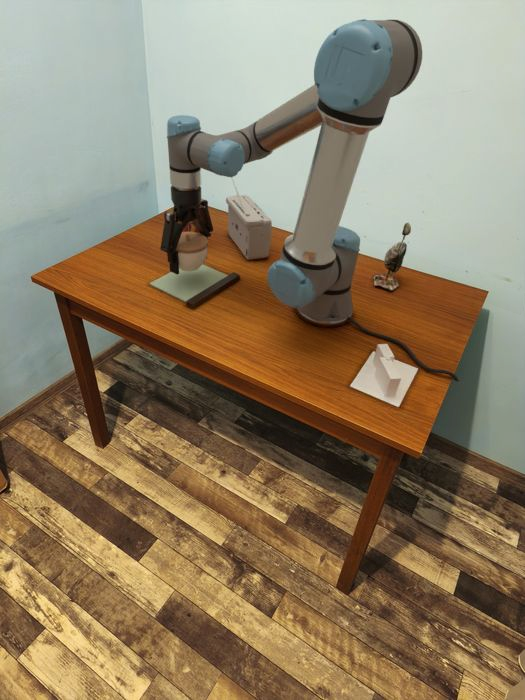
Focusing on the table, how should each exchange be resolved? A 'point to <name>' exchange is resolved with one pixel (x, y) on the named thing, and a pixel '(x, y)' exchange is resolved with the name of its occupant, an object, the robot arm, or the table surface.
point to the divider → (212, 290)
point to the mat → (188, 282)
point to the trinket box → (191, 251)
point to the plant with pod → (393, 262)
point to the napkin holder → (384, 376)
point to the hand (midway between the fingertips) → (189, 264)
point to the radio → (248, 226)
